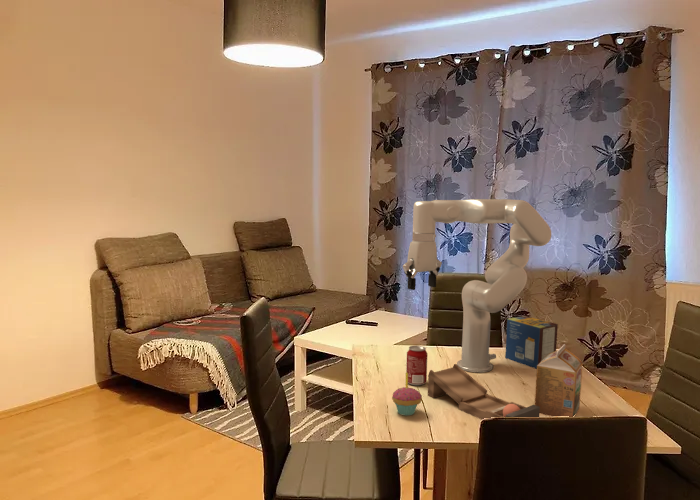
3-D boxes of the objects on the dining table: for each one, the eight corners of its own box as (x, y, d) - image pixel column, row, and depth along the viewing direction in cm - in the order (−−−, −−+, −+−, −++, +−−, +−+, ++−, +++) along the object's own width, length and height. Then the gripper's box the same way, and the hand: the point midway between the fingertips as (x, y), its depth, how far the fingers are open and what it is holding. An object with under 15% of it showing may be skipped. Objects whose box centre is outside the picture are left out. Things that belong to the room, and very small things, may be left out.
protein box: (522, 354, 223) (524, 315, 221) (555, 364, 210) (558, 324, 208) (504, 358, 217) (506, 318, 215) (537, 369, 204) (540, 327, 202)
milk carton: (572, 420, 160) (576, 355, 158) (534, 412, 166) (538, 349, 163) (579, 408, 169) (583, 346, 167) (542, 400, 175) (546, 340, 172)
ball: (510, 400, 162) (525, 404, 158) (510, 417, 162) (525, 422, 158) (498, 404, 159) (513, 408, 155) (499, 421, 159) (514, 426, 155)
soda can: (425, 387, 184) (426, 351, 182) (404, 385, 185) (405, 350, 184) (427, 380, 190) (428, 345, 189) (406, 378, 192) (408, 344, 190)
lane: (426, 395, 177) (427, 369, 176) (453, 387, 184) (454, 362, 183) (511, 433, 151) (512, 403, 150) (538, 422, 159) (540, 393, 158)
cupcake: (389, 406, 168) (390, 367, 166) (418, 406, 168) (419, 367, 167) (394, 418, 159) (395, 377, 158) (424, 418, 160) (425, 377, 158)
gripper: (433, 235, 199) (432, 283, 201) (397, 238, 189) (395, 288, 191) (449, 237, 193) (447, 287, 195) (412, 240, 183) (410, 292, 185)
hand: (421, 287), depth 193 cm, fingers open, 9 cm apart
